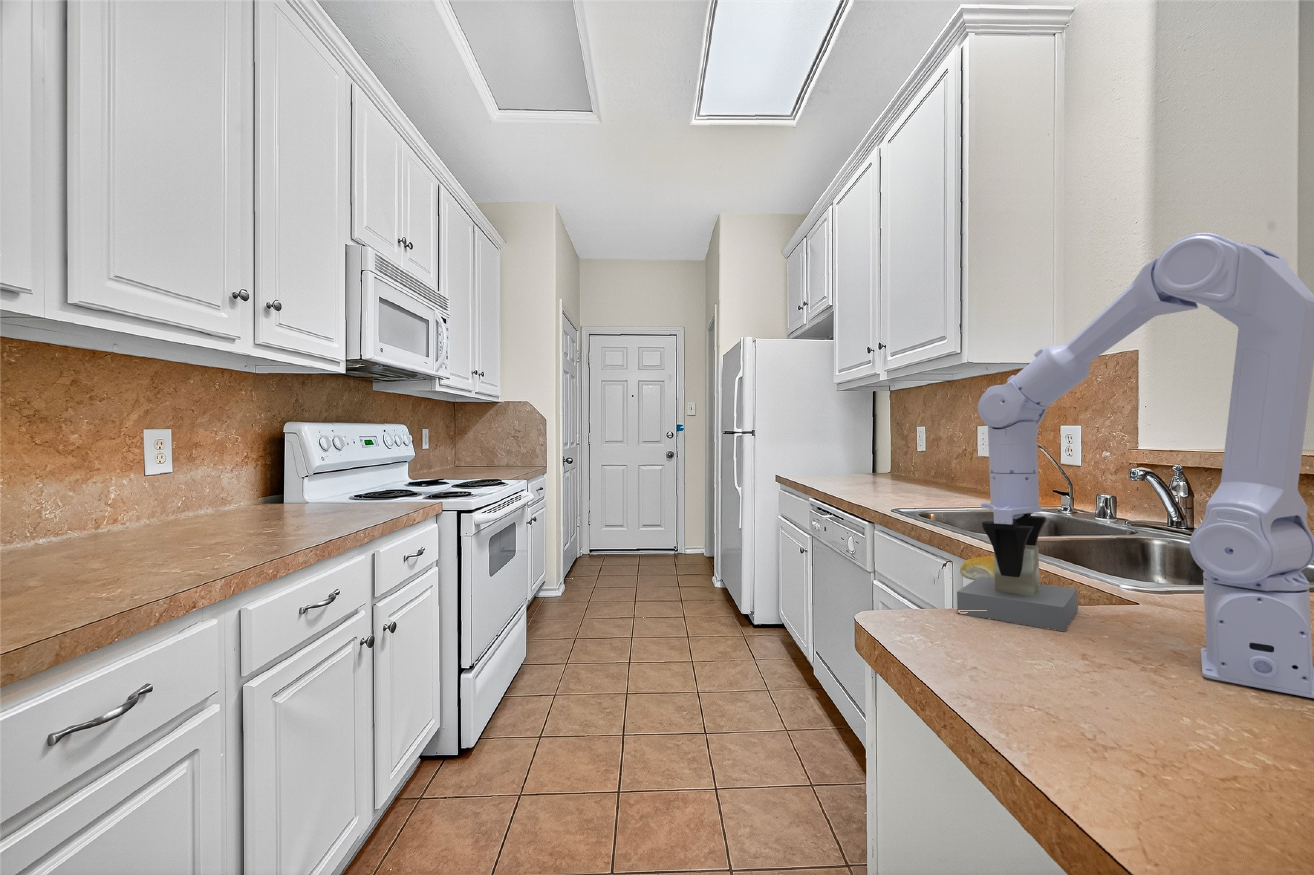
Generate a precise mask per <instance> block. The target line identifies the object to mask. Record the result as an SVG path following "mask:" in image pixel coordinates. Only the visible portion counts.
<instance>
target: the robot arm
mask: <svg viewBox="0 0 1314 875" xmlns="http://www.w3.org/2000/svg"><path fill="white" fill-rule="evenodd" d="M1134 278H1135V279H1134V280H1133V281H1132V283H1131V284H1129V286H1127V287H1126V289H1125V290H1124V291H1122V292H1121V293H1120V294H1119V295H1118V296H1117V297H1116V298H1115V299H1114V300H1113V301H1112V302H1111V303H1109V304H1108V306H1106V307H1105V308H1104V309H1103V310H1102V311H1101V312H1100V313H1099V314H1097V316H1095V318H1094V319H1092V320H1091V321H1090V322H1089V323H1088V324H1087V325H1086V326H1084V328H1083V329H1082V330H1080V331H1079V333H1078V334H1076V335H1075V336H1074V337H1073V338H1072V339H1071V340H1069V342H1068V343H1066V344H1052V345H1050V346H1048V347H1047V348H1045V347H1044V348H1043V347H1041V348H1039V350H1037V351H1036V352H1035V353H1034V354H1033V356H1034V357H1035V358H1034V359H1032V361H1031V362H1029V364H1027V365H1026V366H1025V367H1024V368H1022V369H1021V370H1020V371H1019V372H1018V373H1017V374H1012V375H1011V376H1009V377H1008V378H1007V380H1006V381H1007V382H1006V383H1004V384H996V385H992V386H988V387H987V389H986V390H985V392H983V393H982V395H981V396H980V398H979V401H978V405H977V413H978V416H979V418H980V420H981V421H982V422H983V423H984V424H985V425H987V436H988V438H987V439H988V442H987V443H988V469H989V471H988V472H989V493H990V494H989V495H990V497H989V499H990V502H981V503H980V508H981V509H986V510H989V511H991V512H992V513H993V521H990V520H985V521H982V522H981V523H982V529H983V531H984V532H985V534H986V535H987V537H988V539H989V541H990V543H991V544H990V545H991V546H992V549H993V553H994V552H995V556H996V560H997V564H998V567H999V570H1000V573H1001V575H1002V576H1010V577H1020V574H1021V571H1022V565H1023V557H1024V550H1025V546H1026V545H1030V546H1037V543H1038V539H1039V536H1040V534H1041V531H1042V530H1043V527H1044V526H1045V524H1046V522H1047V517H1046V516H1038V515H1034V513H1040V512H1042V505H1040V488H1039V463H1038V462H1039V461H1038V460H1039V459H1038V435H1039V425H1040V423H1041V422H1042V421H1043V419H1044V418H1045V415H1046V413H1047V408H1049V407H1050V406H1051V405H1052V404H1054V403H1055V402H1057V400H1059V399H1061V398H1062V397H1063V396H1065V394H1067V393H1068V392H1070V391H1071V390H1072V389H1074V388H1075V387H1076V386H1077V385H1080V383H1081V382H1083V381H1084V380H1086V379H1087V378H1088V376H1089V375H1090V369H1091V367H1090V366H1091V362H1092V361H1094V360H1095V359H1096V358H1099V356H1101V355H1102V354H1103V353H1106V352H1107V351H1108V350H1109V349H1111V348H1112V347H1113V346H1115V345H1117V344H1118V343H1119V342H1121V341H1122V340H1123V339H1125V338H1126V337H1128V336H1129V335H1131V334H1132V333H1134V332H1135V331H1136V330H1138V329H1139V328H1141V327H1142V326H1144V325H1145V324H1147V323H1148V322H1149V321H1151V320H1152V319H1153V318H1155V317H1158V316H1162V315H1169V314H1174V313H1181V312H1187V311H1193V310H1196V309H1197V310H1198V309H1199V306H1198V305H1199V304H1200V305H1201V306H1206V307H1208V308H1209V309H1210V310H1211V311H1213V312H1215V313H1216V314H1218V315H1219V316H1221V317H1222V318H1224V319H1226V320H1227V321H1229V322H1230V323H1232V324H1233V325H1236V327H1237V329H1238V330H1237V340H1236V346H1235V347H1236V348H1235V354H1234V355H1235V357H1234V365H1233V366H1234V367H1233V374H1232V375H1233V376H1232V380H1231V381H1232V383H1231V390H1230V391H1231V392H1230V398H1229V399H1230V401H1229V406H1228V407H1229V409H1228V417H1227V425H1226V426H1227V427H1226V434H1225V443H1224V453H1223V460H1222V461H1223V462H1222V470H1221V476H1220V477H1221V478H1220V484H1219V485H1218V487H1217V489H1215V491H1214V493H1213V494H1212V495H1211V497H1210V498H1209V500H1208V502H1207V503H1206V506H1205V507H1206V508H1205V514H1204V517H1203V520H1202V521H1201V522H1200V524H1199V525H1198V526H1197V527H1196V528H1195V529H1194V531H1193V532H1192V534H1191V536H1190V539H1189V551H1190V555H1191V557H1192V559H1193V561H1194V562H1195V564H1196V565H1197V566H1198V567H1199V568H1200V569H1201V570H1202V571H1203V572H1202V577H1203V578H1202V580H1203V601H1204V602H1203V603H1204V622H1205V623H1204V624H1205V625H1204V626H1205V627H1204V628H1205V647H1201V648H1200V659H1201V661H1200V662H1201V670H1202V677H1204V678H1206V679H1209V680H1216V681H1221V682H1227V683H1231V684H1237V685H1242V686H1247V687H1252V688H1257V689H1263V690H1269V691H1273V692H1278V693H1284V694H1290V695H1295V696H1299V697H1304V698H1305V697H1306V698H1311V699H1314V665H1313V664H1314V661H1313V642H1312V621H1311V620H1312V619H1311V618H1312V616H1311V601H1310V600H1311V598H1310V597H1311V596H1310V595H1311V594H1310V581H1308V579H1307V576H1305V575H1304V573H1303V572H1302V571H1303V570H1304V569H1307V568H1308V567H1309V566H1310V565H1311V564H1312V563H1313V562H1314V535H1313V533H1312V531H1311V530H1310V528H1309V525H1308V520H1307V517H1308V516H1307V515H1308V505H1307V504H1306V502H1305V500H1304V498H1303V497H1302V495H1301V494H1300V492H1299V481H1300V472H1301V464H1302V463H1301V462H1302V456H1303V447H1304V440H1305V432H1306V424H1307V417H1308V409H1309V401H1310V400H1309V399H1310V392H1311V385H1312V377H1313V368H1314V293H1312V291H1311V290H1310V289H1309V288H1308V287H1307V286H1306V284H1304V282H1303V281H1302V280H1301V279H1300V278H1299V276H1298V275H1297V274H1296V273H1295V271H1293V269H1292V268H1291V267H1290V266H1289V263H1288V260H1287V259H1286V257H1284V256H1282V255H1280V254H1277V253H1275V252H1273V251H1270V250H1267V249H1266V248H1263V247H1260V246H1257V245H1255V244H1249V243H1242V242H1239V241H1235V240H1233V239H1230V238H1228V237H1225V236H1222V235H1219V234H1217V233H1213V232H1212V233H1211V232H1198V233H1194V234H1193V233H1192V234H1189V235H1186V236H1183V237H1182V238H1179V239H1178V240H1177V239H1176V240H1175V241H1174V242H1172V243H1171V244H1170V245H1169V246H1167V247H1166V249H1164V251H1163V252H1162V253H1161V254H1160V255H1159V257H1158V258H1157V257H1154V259H1152V260H1151V261H1150V262H1148V263H1146V264H1145V265H1144V266H1143V267H1141V270H1140V271H1139V273H1138V274H1137V275H1136V277H1134Z"/></svg>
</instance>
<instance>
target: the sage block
mask: <svg viewBox="0 0 1314 875" xmlns="http://www.w3.org/2000/svg"><path fill="white" fill-rule="evenodd" d="M1039 555H1040V554H1039V546H1038V545H1036V546H1030V545H1026V546H1025V550H1024V557H1023V565H1022V571H1021V574H1020V577H1010V576H1002V575H1001V573H1000V570H999V567H998V564H997V560H996V556H995V552H994V551H993V556H994V571H995V591H1001V592H1008V593H1015V594H1022V595H1029V596H1034V595H1035V594H1036V593H1037V592H1038V591H1039V590H1040V584H1041V582H1040V560H1039V559H1040V556H1039Z"/></svg>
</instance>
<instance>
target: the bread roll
mask: <svg viewBox="0 0 1314 875" xmlns="http://www.w3.org/2000/svg"><path fill="white" fill-rule="evenodd" d="M959 568H960V569H959V573H960V575H961V576H962V577H963V578H965V579H967V580H972V581H974V580H975V579H977V578H979V577H988V578H995V571H994V555H989V556H977V557H976V556H975V557H972V558H969V559H966V560H965V561H963V562H962V564H961V565H960V567H959Z"/></svg>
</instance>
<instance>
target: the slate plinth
mask: <svg viewBox="0 0 1314 875" xmlns="http://www.w3.org/2000/svg"><path fill="white" fill-rule="evenodd" d="M1078 596H1079V595H1078V588H1077V587H1076V588H1075V587H1067V586H1066V587H1065V586H1058V585H1051V584H1050V585H1049V584H1044V583H1043V584H1042V583H1040V590H1039V591H1038V592H1037V593H1036V594H1035V595H1034V596H1029V595H1022V594H1015V593H1008V592H1001V591H995V578H988V577H979V578H977V579H975V580H972V581H971V582H970V583H968V584H966V585H965V586H964V587H962V588H960V589H959V590H957V591H956V606H957V608H956V609H957V611H958V610H987V611H960V612H968V613H966V614H964V615H963V616H968V615H969V616H970V617H975V618H980V617H982V618H981V619H986V618H990V619H989V620H992V619H995V620H994V621H998V620H1002V621H1001V622H1004V621H1006V622H1005V623H1009V622H1013V623H1012V624H1015V623H1018V624H1017V625H1021V624H1022V625H1021V626H1027V625H1028V627H1033V626H1036V627H1035V628H1039V627H1041V628H1040V629H1045V628H1049V629H1048V630H1050V629H1056V630H1059V631H1058V632H1062V631H1065V630H1066V631H1067V629H1068V627H1069V626H1070V624H1071V623H1070V622H1072V621H1073V619H1074V618H1075V616H1076V615H1077V613H1078V611H1079V601H1078V600H1079V599H1078V598H1079V597H1078ZM1077 610H1078V611H1077ZM1075 614H1076V615H1075ZM1074 615H1075V616H1074ZM1073 617H1074V618H1073ZM1072 618H1073V619H1072ZM1071 620H1072V621H1071ZM1069 623H1070V624H1069ZM1068 625H1069V626H1068ZM1067 626H1068V627H1067ZM1066 628H1067V629H1066ZM1056 630H1055V631H1056ZM1066 631H1065V632H1066Z"/></svg>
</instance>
